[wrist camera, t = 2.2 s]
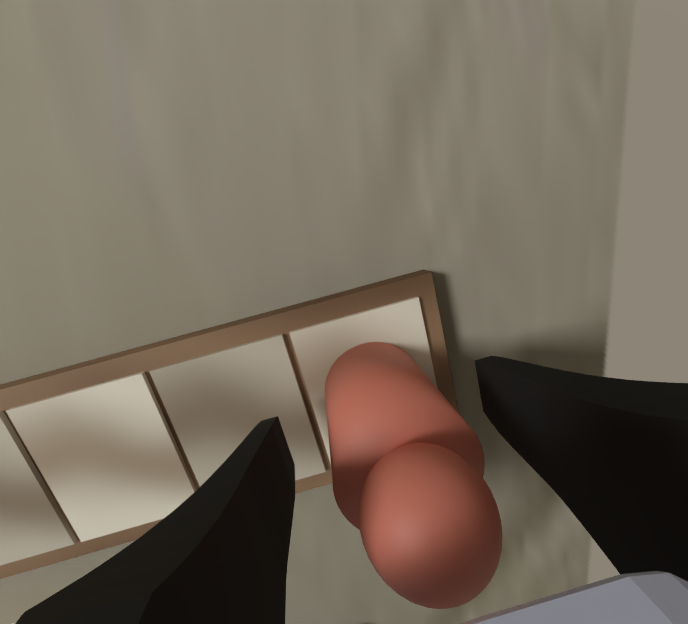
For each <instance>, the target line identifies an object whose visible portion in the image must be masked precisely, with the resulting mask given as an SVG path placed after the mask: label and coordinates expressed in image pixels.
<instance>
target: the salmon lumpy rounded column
mask: <svg viewBox="0 0 688 624" xmlns="http://www.w3.org/2000/svg"><path fill="white" fill-rule="evenodd" d="M325 401H326V413H327V424H328V436H329V447H330V459H331V470H332V482H333V491H334V496H335V500H336V502H337V505H338V507H339V509H340V510H341V512H342V514H343V515H344V516H345V517H346V519H347V520H348V521H349V522H350V523H351V524H353V525H354V526H355V527H356V528H358V529H359V530H360V532H361V537H362V541H363V545H364V547H365V550H366V552H367V555H368V557H369V559H370V561H371V563H372V564H373V566H374V568H375V570H376V571H377V573H378V574H379V575H380V576H381V578H382V579H383V580H384V581H385V582H386V584H387V585H388V586H390V587H391V588H392V589H393V590H394V591H395V592H396V593H398V594H399V595H400V596H402V597H404V598H405V599H407V600H409V601H410V602H413V603H415V604H418V605H421V606H424V607H428V608H435V609H444V608H453V607H457V606H460V605H463V604H465V603H467V602H469V601H471V600H472V599H474V598H475V597H476V596H477V595H478V594H480V593H481V592H482V591H483V590H484V589H485V587H486V586H487V585H488V584H489V582H490V581H491V579H492V577H493V575H494V573H495V571H496V569H497V566H498V563H499V559H500V555H501V549H502V526H501V519H500V515H499V511H498V507H497V504H496V502H495V499H494V497H493V495H492V492H491V490H490V489H489V487H488V485H487V484H486V482H485V481H484V479H483V475H484V464H485V463H484V454H483V450H482V446H481V444H480V442H479V439H478V438H477V436H476V434H475V433H474V431H473V430H472V429H471V428H470V426H469V425H468V424H467V423H466V422H465V421H464V419H463V418H462V417H461V416H460V415H459V413H458V412H457V411H456V410H455V409H454V408H453V406H452V405H451V404H450V403H449V402H448V400H447V399H446V398H445V397H444V396H443V395H442V393H441V392H440V391H439V390H438V389H437V387H436V386H435V385H434V384H433V383H432V382H431V380H430V379H429V378H428V377H427V376H426V374H425V373H424V372H423V371H422V370H421V368H420V367H419V366H418V365H417V364H416V363H415V361H414V360H413V359H412V358H411V357H410V356H409V355H408V354H407V353H406V352H405V351H404V350H402V349H401V348H399V347H397V346H395V345H392V344H389V343H384V342H368V343H363V344H360V345H357V346H355V347H353V348H351V349H349V350H347V351H346V352H344V353H343V354H342V355H341V356H340V357H339V358H338V359H337V360H336V361H335V362H334V364H333V365H332V366H331V368H330V370H329V372H328V375H327V378H326V382H325Z"/></svg>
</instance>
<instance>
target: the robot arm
mask: <svg viewBox="0 0 688 624" xmlns="http://www.w3.org/2000/svg"><path fill="white" fill-rule="evenodd" d="M475 365H476V371H477V377H478V383H479V388H480V394H481V400H482V406H483V411H484V413H485V414H486V415H487V417H488V418H489V420H490V421H491V422H492V424H493V425H494V426H495V428H496V429H497V430H498V432H499V433H500V434H501V435H502V436H503V438H504V439H505V440H506V441H507V442H508V443H509V444H510V445H511V446H512V447H513V448H514V449H515V450H516V451H517V452H518V453H519V454H520V455H521V456H522V458H523V459H524V460H525V461H526V462H527V463H528V464H529V465H530V466H531V467H532V468H533V469H534V470H535V471H536V472H537V473H538V474H539V475H540V476H541V477H542V478H543V479H544V480H545V481H546V482H547V483H548V484H549V485H550V487H551V488H552V489H553V490H554V491H555V492H556V493H557V494H558V495H559V497H560V498H561V499H562V500H563V501H564V502H565V504H566V505H567V506H568V507H569V509H570V510H571V511H572V512H573V514H574V515H575V516H576V517H577V519H578V520H579V521H580V522H581V524H582V525H583V526H584V527H585V529H586V530H587V531H588V533H589V534H590V535H591V536H592V538H593V539H594V540H595V542H596V543H597V544H598V546H599V547H600V548H601V549H602V551H603V552H604V553H605V555H606V556H607V557H608V559H609V560H610V561H611V562H612V564H613V565H614V566H615V567H616V569H617V570H618V572H619V573H620V575H617V576H614V577H611V578H607V579H604V580H601V581H597V582H594V583H591V584H587V585H584V586H581V587H578V588H574V589H571V590H568V591H564V592H561V593H558V594H554V595H551V596H548V597H545V598H541V599H538V600H535V601H531V602H528V603H525V604H522V605H518V606H515V607H512V608H508V609H505V610H502V611H499V612H495V613H492V614H489V615H485V616H482V617H479V618H475V619H472V620H469V621H466V622H462V623H459V624H688V383H666V382H647V381H634V380H624V379H615V378H607V377H599V376H592V375H585V374H580V373H574V372H568V371H563V370H558V369H553V368H548V367H543V366H539V365H534V364H530V363H526V362H521V361H517V360H512V359H507V358H502V357H496V356H490V357H486V358H483V359H479V360H475ZM294 501H295V464H294V461H293V458H292V455H291V452H290V450H289V447H288V444H287V441H286V438H285V435H284V432H283V429H282V427H281V424H280V421H279V418H278V416H276V417H273V418H269V419H266V420H262V421H260V422H259V423H258V424H257V425H256V426H255V427H254V428H253V430H252V431H251V432H250V433H249V434H248V435H247V436H246V438H245V439H244V440H243V441H242V442H241V443H240V445H239V446H238V447H237V448H236V449H235V450H234V451H233V453H232V454H231V455H230V456H229V457H228V458H227V459H226V460H225V461H224V463H223V464H222V465H221V466H220V467H219V468H218V469H217V470H216V471H215V472H214V473H213V474H212V475H211V476H210V477H209V478H208V479H207V481H205V482H204V483H203V484H202V485H201V486H200V487H199V488H198V489H197V490H196V491H195V492H194V493H193V494H192V495H191V496H190V497H189V498H187V499H186V500H185V501H184V502H183V503H182V504H181V505H180V506H179V507H177V508H176V509H175V510H174V511H173V512H171V513H170V514H169V515H168V516H166V517H165V518H164V519H163V520H161V521H160V522H159V523H158V524H156V525H155V526H154V527H153V528H151V529H150V530H149V531H147V532H146V533H145V534H144V535H142V536H141V537H140V538H138V539H137V540H136V541H134V542H133V543H132V544H130V545H129V546H127V547H126V548H125V549H123V550H122V551H120V552H119V553H118V554H116V555H115V556H113V557H112V558H110V559H109V560H107V561H106V562H104V563H103V564H101V565H100V566H98V567H97V568H95V569H94V570H92V571H91V572H89V573H88V574H86V575H85V576H83V577H82V578H80V579H78V580H77V581H75V582H73V583H72V584H70V585H69V586H67V587H65V588H64V589H62V590H60V591H59V592H57V593H55V594H54V595H52V596H51V597H49V598H47V599H46V600H44V601H42V602H41V603H39V604H37V605H36V606H34V607H32V608H31V609H29V610H27V611H25V612H24V613H23V615H22V616H21V617H20V618H19V620H18V621H17V622H16V624H285V600H286V574H287V562H288V553H289V545H290V536H291V527H292V519H293V510H294Z"/></svg>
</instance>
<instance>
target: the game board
mask: <svg viewBox="0 0 688 624" xmlns="http://www.w3.org/2000/svg"><path fill="white" fill-rule="evenodd" d="M368 342H384V343H389V344H392V345H395V346H397V347H399V348H401V349H402V350H404V351H405V352H406V353H407V354H408V355H409V356H410V357H411V358H412V359H413V360H414V361H415V363H416V364H417V365H418V366H419V367H420V368H421V370H422V371H423V372H424V373H425V374H426V376H427V377H428V378H429V379H430V380H431V382H432V383H433V384H434V385H435V386H436V387H437V389H438V390H439V391H440V392H441V393H442V395H443V396H444V397H445V398H446V399H447V400H448V402H449V403H450V404H451V405H452V406H453V408H454V409H455V410H456V411H457V412H458V407H457V402H456V397H455V392H454V386H453V381H452V376H451V371H450V366H449V360H448V355H447V350H446V345H445V340H444V334H443V329H442V324H441V319H440V314H439V309H438V303H437V298H436V293H435V288H434V283H433V277H432V272H429V271H426V270H420V271H417V272H413V273H409V274H406V275H402V276H398V277H395V278H391V279H387V280H384V281H380V282H376V283H373V284H369V285H365V286H362V287H358V288H354V289H351V290H347V291H343V292H340V293H336V294H332V295H329V296H325V297H321V298H318V299H314V300H310V301H307V302H303V303H299V304H296V305H292V306H288V307H285V308H281V309H277V310H274V311H270V312H266V313H263V314H259V315H255V316H252V317H248V318H244V319H241V320H237V321H233V322H230V323H226V324H222V325H219V326H215V327H211V328H207V329H204V330H200V331H196V332H193V333H189V334H185V335H182V336H178V337H174V338H171V339H167V340H163V341H160V342H156V343H152V344H149V345H145V346H141V347H138V348H134V349H130V350H127V351H123V352H119V353H116V354H112V355H108V356H105V357H101V358H97V359H94V360H90V361H86V362H83V363H79V364H75V365H72V366H68V367H64V368H61V369H57V370H53V371H50V372H46V373H42V374H39V375H35V376H31V377H28V378H24V379H20V380H17V381H13V382H9V383H6V384H2V385H0V579H2V578H5V577H8V576H12V575H15V574H19V573H22V572H26V571H29V570H33V569H36V568H40V567H43V566H46V565H50V564H53V563H57V562H60V561H64V560H67V559H71V558H74V557H78V556H81V555H85V554H88V553H91V552H95V551H98V550H102V549H105V548H109V547H112V546H116V545H119V544H123V543H126V542H130V541H133V540H136V539H138V538H140V537H141V536H142V535H144V534H145V533H146V532H147V531H149V530H150V529H151V528H153V527H154V526H155V525H156V524H158V523H159V522H160V521H161V520H163V519H164V518H165V517H166V516H168V515H169V514H170V513H171V512H173V511H174V510H175V509H176V508H177V507H179V506H180V505H181V504H182V503H183V502H184V501H185V500H186V499H187V498H189V497H190V496H191V495H192V494H193V493H194V492H195V491H196V490H197V489H198V488H199V487H200V486H201V485H202V484H203V483H204V482H205V481H207V479H208V478H209V477H210V476H211V475H212V474H213V473H214V472H215V471H216V470H217V469H218V468H219V467H220V466H221V465H222V464H223V463H224V461H225V460H226V459H227V458H228V457H229V456H230V455H231V454H232V453H233V451H234V450H235V449H236V448H237V447H238V446H239V445H240V443H241V442H242V441H243V440H244V439H245V438H246V436H247V435H248V434H249V433H250V432H251V431H252V430H253V428H254V427H255V426H256V425H257V424H258V423H259V422H260V421H262V420H266V419H269V418H273V417H276V416H278V418H279V421H280V424H281V427H282V429H283V432H284V435H285V438H286V441H287V444H288V447H289V450H290V452H291V455H292V458H293V461H294V464H295V494H296V493H299V492H303V491H306V490H310V489H313V488H316V487H320V486H323V485H327V484H330V483H333V482H332V470H331V459H330V447H329V436H328V424H327V413H326V401H325V382H326V378H327V375H328V372H329V370H330V368H331V366H332V365H333V364H334V362H335V361H336V360H337V359H338V358H339V357H340V356H341V355H342V354H343V353H344V352H346V351H347V350H349V349H351V348H353V347H355V346H357V345H360V344H363V343H368ZM458 413H459V412H458Z"/></svg>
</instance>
